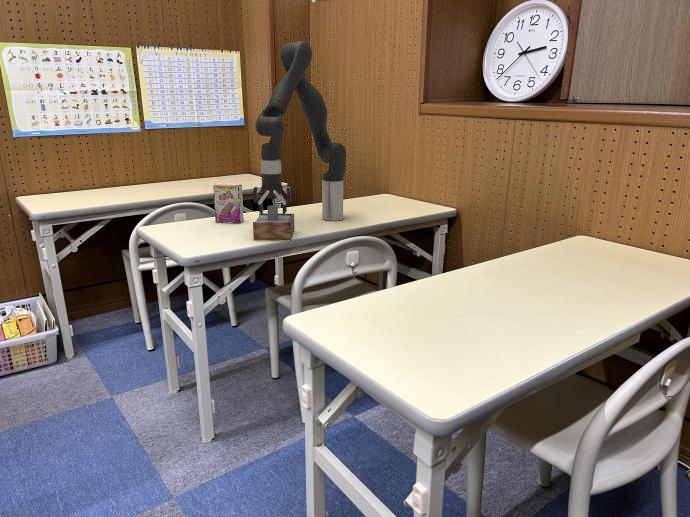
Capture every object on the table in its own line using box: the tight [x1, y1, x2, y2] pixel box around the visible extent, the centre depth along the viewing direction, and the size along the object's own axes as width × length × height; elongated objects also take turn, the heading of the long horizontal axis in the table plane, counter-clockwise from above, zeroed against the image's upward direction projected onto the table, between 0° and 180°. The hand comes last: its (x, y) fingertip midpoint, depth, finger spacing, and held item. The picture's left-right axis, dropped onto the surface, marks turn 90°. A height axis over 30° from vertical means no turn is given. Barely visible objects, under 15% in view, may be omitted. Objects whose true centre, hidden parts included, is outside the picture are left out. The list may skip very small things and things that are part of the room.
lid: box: [254, 205, 290, 222], centre depth 193 cm, size 12×12×6 cm
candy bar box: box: [212, 182, 245, 224], centre depth 212 cm, size 11×5×16 cm, turn 84°
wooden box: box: [252, 212, 296, 242], centre depth 194 cm, size 14×15×7 cm
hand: (272, 213), depth 193 cm, fingers open, 8 cm apart
